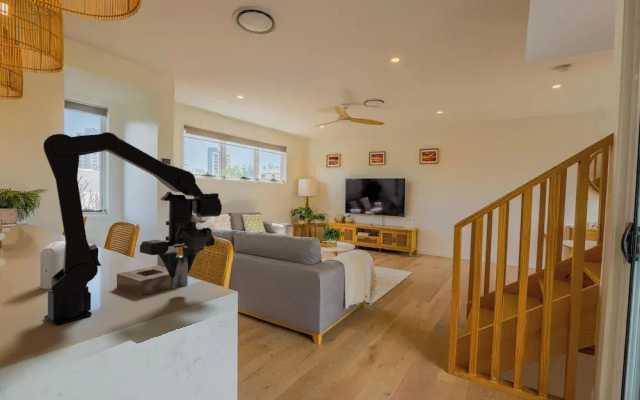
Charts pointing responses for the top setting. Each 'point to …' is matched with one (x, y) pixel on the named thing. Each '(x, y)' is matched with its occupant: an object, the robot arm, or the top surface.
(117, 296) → the top surface
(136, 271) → the socket block
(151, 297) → the top surface
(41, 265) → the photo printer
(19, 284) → the top surface
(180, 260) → the grey metal cylinder
